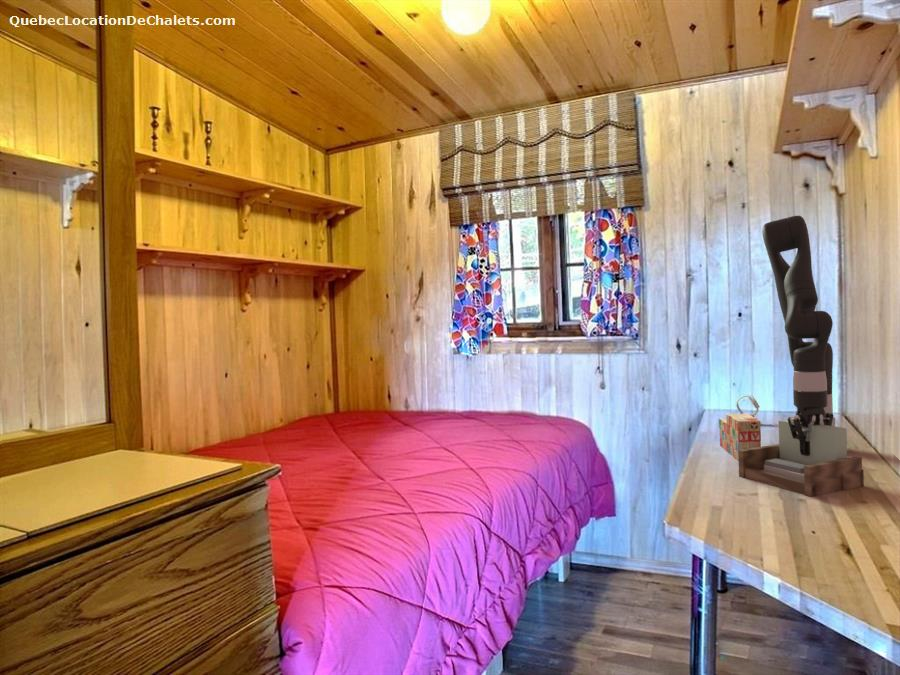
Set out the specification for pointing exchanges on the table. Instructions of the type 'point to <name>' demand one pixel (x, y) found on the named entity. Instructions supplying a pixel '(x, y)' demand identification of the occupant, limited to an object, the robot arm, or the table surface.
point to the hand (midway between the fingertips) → (811, 453)
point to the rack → (815, 476)
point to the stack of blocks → (739, 433)
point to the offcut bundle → (785, 468)
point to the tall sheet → (813, 444)
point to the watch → (752, 403)
